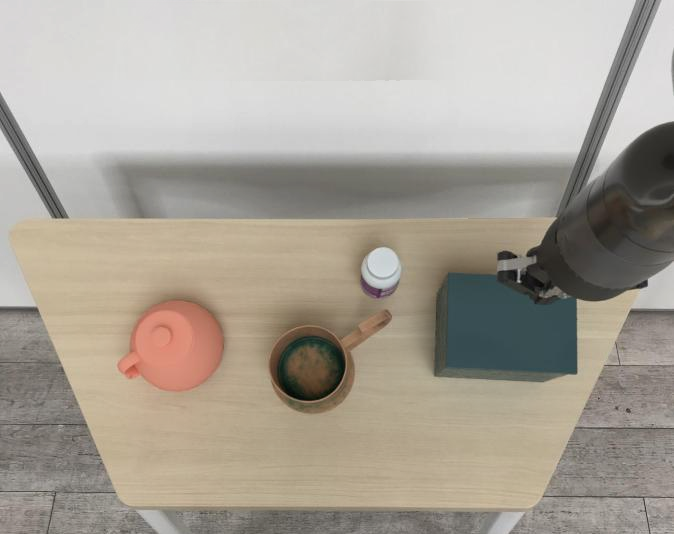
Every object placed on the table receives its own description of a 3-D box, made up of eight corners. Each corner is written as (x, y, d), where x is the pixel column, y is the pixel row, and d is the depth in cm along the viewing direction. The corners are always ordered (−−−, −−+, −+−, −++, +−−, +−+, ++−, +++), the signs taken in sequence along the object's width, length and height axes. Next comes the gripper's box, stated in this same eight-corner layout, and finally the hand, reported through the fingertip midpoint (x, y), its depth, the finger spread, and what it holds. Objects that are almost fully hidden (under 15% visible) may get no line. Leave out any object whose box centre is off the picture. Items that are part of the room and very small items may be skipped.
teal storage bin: (543, 298, 85) (567, 279, 76) (543, 382, 83) (568, 374, 74) (436, 293, 86) (447, 274, 76) (434, 376, 84) (445, 368, 74)
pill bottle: (385, 307, 86) (389, 291, 76) (353, 288, 86) (353, 269, 77) (405, 275, 86) (412, 255, 77) (373, 256, 87) (375, 234, 77)
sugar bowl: (242, 364, 85) (228, 353, 75) (153, 416, 84) (126, 412, 74) (200, 290, 87) (180, 270, 76) (113, 340, 86) (81, 326, 76)
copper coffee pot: (407, 363, 84) (417, 350, 72) (297, 429, 83) (288, 428, 71) (364, 293, 86) (366, 270, 74) (255, 357, 85) (240, 344, 73)
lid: (574, 279, 75) (576, 278, 75) (575, 374, 74) (577, 374, 73) (447, 273, 76) (448, 272, 75) (445, 368, 74) (446, 367, 73)
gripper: (708, 188, 43) (608, 260, 60) (518, 181, 44) (473, 255, 61) (713, 291, 42) (610, 335, 59) (518, 283, 42) (472, 329, 59)
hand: (540, 294), depth 60 cm, fingers closed
